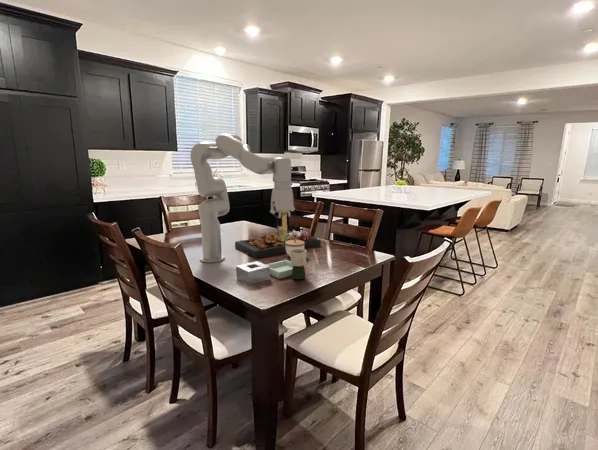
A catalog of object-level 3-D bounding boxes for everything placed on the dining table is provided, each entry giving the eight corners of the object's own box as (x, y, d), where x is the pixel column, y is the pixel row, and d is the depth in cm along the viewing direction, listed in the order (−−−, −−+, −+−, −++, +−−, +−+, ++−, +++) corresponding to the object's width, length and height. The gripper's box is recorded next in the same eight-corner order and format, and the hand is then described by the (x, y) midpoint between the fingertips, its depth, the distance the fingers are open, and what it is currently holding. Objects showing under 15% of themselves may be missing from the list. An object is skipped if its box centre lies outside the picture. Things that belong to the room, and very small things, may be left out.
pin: (276, 240, 160) (275, 209, 157) (284, 238, 162) (283, 208, 160) (282, 241, 156) (281, 210, 153) (290, 240, 159) (289, 209, 156)
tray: (262, 271, 163) (262, 265, 163) (285, 265, 172) (285, 259, 171) (279, 278, 153) (278, 272, 153) (302, 272, 162) (302, 266, 162)
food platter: (296, 238, 229) (297, 223, 227) (320, 246, 210) (320, 230, 208) (235, 248, 203) (234, 232, 201) (255, 259, 184) (255, 240, 182)
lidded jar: (300, 259, 182) (300, 242, 180) (281, 257, 185) (281, 240, 183) (307, 254, 191) (307, 238, 190) (289, 252, 195) (289, 236, 193)
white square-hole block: (236, 278, 153) (236, 265, 152) (257, 273, 160) (257, 261, 159) (248, 285, 146) (248, 271, 144) (270, 279, 153) (270, 266, 152)
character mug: (311, 281, 151) (311, 252, 148) (296, 283, 148) (296, 254, 145) (300, 273, 160) (300, 246, 158) (286, 275, 157) (286, 248, 155)
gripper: (291, 184, 162) (291, 222, 166) (262, 186, 152) (263, 226, 156) (302, 185, 157) (301, 224, 161) (272, 187, 146) (273, 229, 150)
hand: (282, 225), depth 158 cm, fingers closed on pin, 3 cm apart
